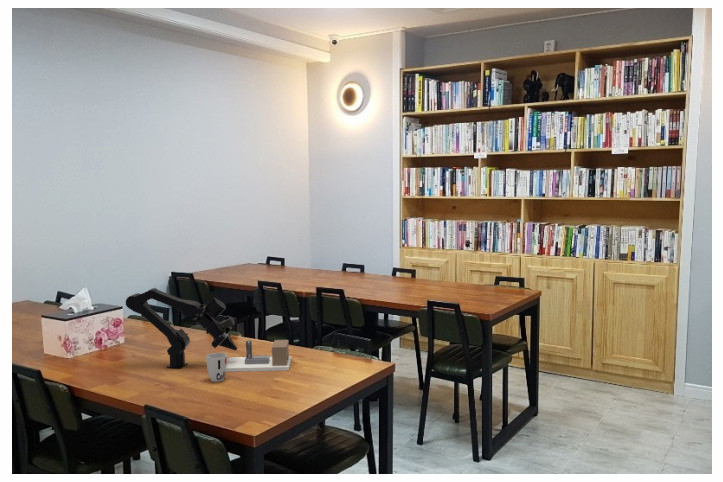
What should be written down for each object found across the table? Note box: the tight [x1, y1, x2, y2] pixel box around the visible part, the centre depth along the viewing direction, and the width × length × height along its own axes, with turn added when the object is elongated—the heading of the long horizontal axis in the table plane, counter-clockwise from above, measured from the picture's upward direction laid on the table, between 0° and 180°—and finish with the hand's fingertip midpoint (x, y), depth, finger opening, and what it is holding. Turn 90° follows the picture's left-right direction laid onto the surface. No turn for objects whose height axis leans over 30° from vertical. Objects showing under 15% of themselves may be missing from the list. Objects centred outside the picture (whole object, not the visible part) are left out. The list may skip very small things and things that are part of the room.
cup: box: [205, 352, 228, 383], centre depth 243 cm, size 8×8×10 cm
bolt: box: [245, 340, 270, 360], centre depth 262 cm, size 10×3×9 cm, turn 92°
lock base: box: [225, 339, 292, 373], centre depth 262 cm, size 30×16×10 cm, turn 92°
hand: (236, 349), depth 262 cm, fingers closed
